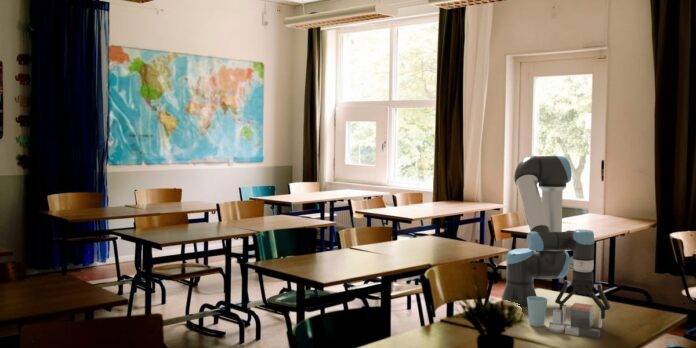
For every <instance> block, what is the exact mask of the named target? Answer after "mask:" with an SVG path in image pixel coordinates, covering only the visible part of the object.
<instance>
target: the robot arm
mask: <svg viewBox="0 0 696 348" xmlns="http://www.w3.org/2000/svg"><path fill="white" fill-rule="evenodd" d="M572 173H573V171H572V167H571V163H570V161H569V160H568V158H567V157H565V156H561V155H530V156H527V157H525V158H523V159H522V160H521V161H520V162H519V163H518V165H517V167H516V169H515V171H514V176H513V180H514V184H515V186H516V188H517V189H519V195H520V197H521V198H520V199H521V202H522V206H523V208H524V212H525V217H526V219H527V223H528V228H529V232H527V235H526V246H527V248H525V247H523V248H515V249H512V250H510V251H508V252H507V254H506V261H505V263H506V273H505V274H506V277H505V278H506V282H505V287H504V289H503V293H502V296H501V301H502V300H508V301H511V302H515V303H518V304H520V305H522V306H521V307H528V303H527V297H531V296H537V293H536V290H535V286H534V279H554V280H556V279H562V278H564V277H566V276H567V274H568V272H569V271H570V265H571V262H570V261H571V259H570V255H569V253H568V251H569V252H570V251H572V252H573V253H572V269H573V270H572V281H570V280H568V279H566V280H564V282H563V287H562V288H561V290H560V291H559V294H558V295H557V297H556V299H555V301H554V302H555V304H558V305H559V310H563V323H566V321H567V304H565V303H566V302H567V301H568V300H569V299H570V298H571V297H573V296H574V295H575V294H578V295H584V296H587V295H589V297H591V299H592V300H593V301H594V303H595V304H596V306H597V307H598V308H599V310H598V328H600V329H601V328H602V327H603V320H604V319H605V318H606V311H608V310H610V309H611V305H610V303H609V301H608V298H607V297H606V294H605V293H604V290H603V284H601V283H597V284H596V283H594V271H593V270H594V261H595V259H594V258H595V257H594V255H595V241H596V240H595V233H594V231H593V230H590V229H589V230H588V229H575V230H566V231H563V229H562V228H563V226H562V225H563V191H564V190H565V189H566V188H567V184H568V183H570V182H571V180H572ZM538 188H540V189H541V194H540V191H539V189H538ZM570 286H571V287H572V290H571V291H570V292H569V293H568V294H567V295H566V297H564V298H563V299H562V297H563V296H564V294H565V293H566V291H567V289H568V288H569V287H570ZM594 288H595V290H596V291H598V292H597V293H598V295H599V296H600V299H601V300H600V299H599V298H598V296H597V295H596V294H595V292H594V291H593V289H594ZM561 299H562V300H561Z"/></svg>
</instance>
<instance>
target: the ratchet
mask: <svg viewBox="0 0 696 348" xmlns="http://www.w3.org/2000/svg"><path fill="white" fill-rule="evenodd" d="M548 325H549V329H548V332H549V333H551V334H554V335H555V334H556V335H561V334H565V335H571V336H572V335H573V336H576V337H577V336H578V337H584V338H591V339H595V340H596V339H598V340H600V339H599V338H600V337H601V329H597V328H592V327H591V328H584V327H573V326H571V325H567V324H566V322H564V323H563V310H560V309H557V308H556V309H553V310H552V321H550V322H549V324H548Z"/></svg>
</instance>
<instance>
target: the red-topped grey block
mask: <svg viewBox="0 0 696 348" xmlns="http://www.w3.org/2000/svg"><path fill="white" fill-rule="evenodd" d="M570 326H573V327H584V328H591V329H592V327H593V326H594V304H588V303H579V302H574V303H573V304H572V305H571V306H570Z"/></svg>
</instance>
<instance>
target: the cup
mask: <svg viewBox="0 0 696 348" xmlns="http://www.w3.org/2000/svg"><path fill="white" fill-rule="evenodd" d="M527 303H528V306H527V310H528V311H527V313H528V323H529V326H531V327H537V328H538V327H539V328H540V327H544V326H545V323H546V313H547V307H548V298H547V297H544V296H538V295H536V296H531V297H527Z"/></svg>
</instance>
